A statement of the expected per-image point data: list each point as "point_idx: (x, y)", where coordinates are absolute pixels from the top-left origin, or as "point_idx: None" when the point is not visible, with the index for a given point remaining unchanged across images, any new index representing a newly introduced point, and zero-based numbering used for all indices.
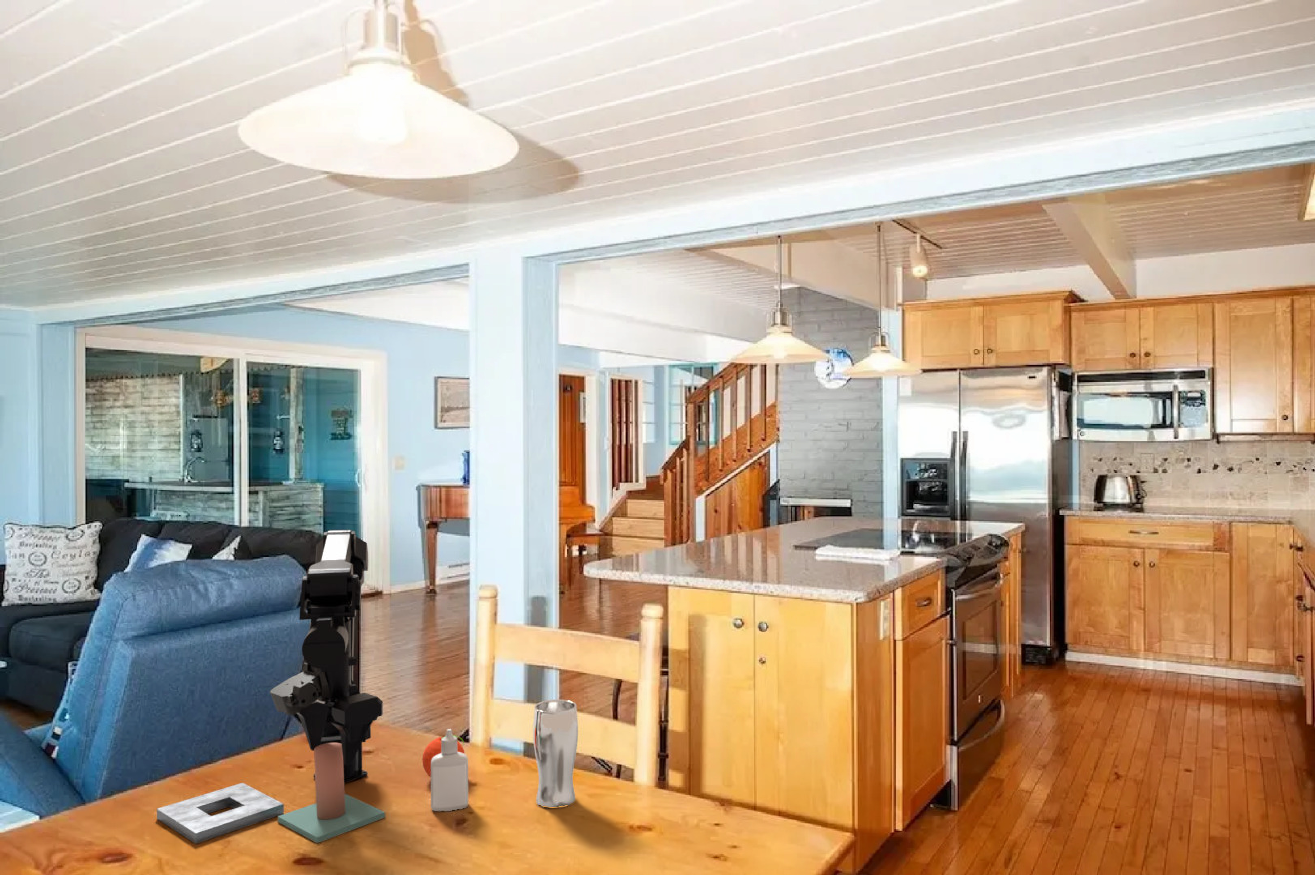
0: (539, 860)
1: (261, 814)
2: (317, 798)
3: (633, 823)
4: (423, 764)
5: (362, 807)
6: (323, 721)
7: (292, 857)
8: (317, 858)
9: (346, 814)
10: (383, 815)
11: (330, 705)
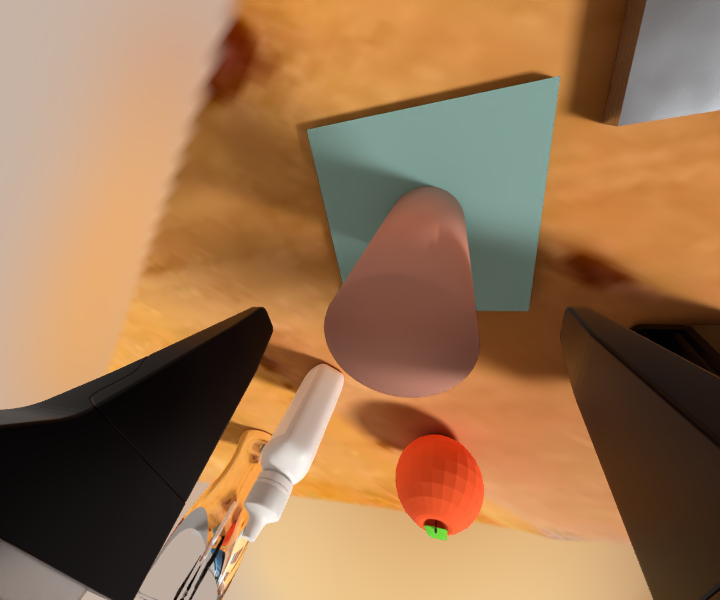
0: (124, 345)
1: (639, 6)
2: (421, 200)
3: None
4: (452, 456)
5: None
6: (634, 528)
7: (265, 27)
8: (231, 92)
9: None
10: None
11: None
